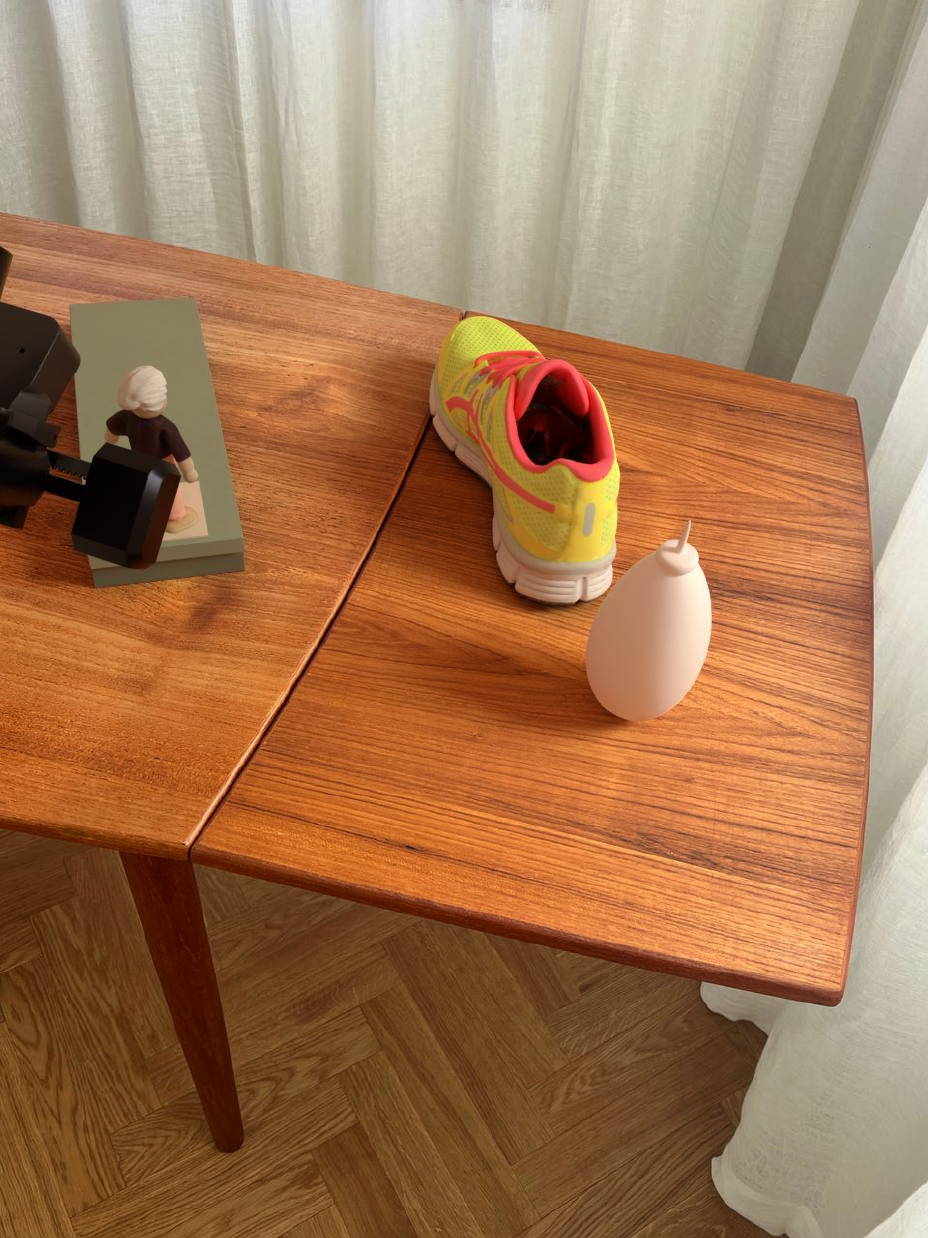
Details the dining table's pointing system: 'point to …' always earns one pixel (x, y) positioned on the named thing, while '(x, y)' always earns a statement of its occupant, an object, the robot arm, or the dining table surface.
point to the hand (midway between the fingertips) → (84, 486)
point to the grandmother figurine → (153, 433)
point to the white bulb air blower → (651, 633)
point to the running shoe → (532, 458)
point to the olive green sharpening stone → (177, 349)
